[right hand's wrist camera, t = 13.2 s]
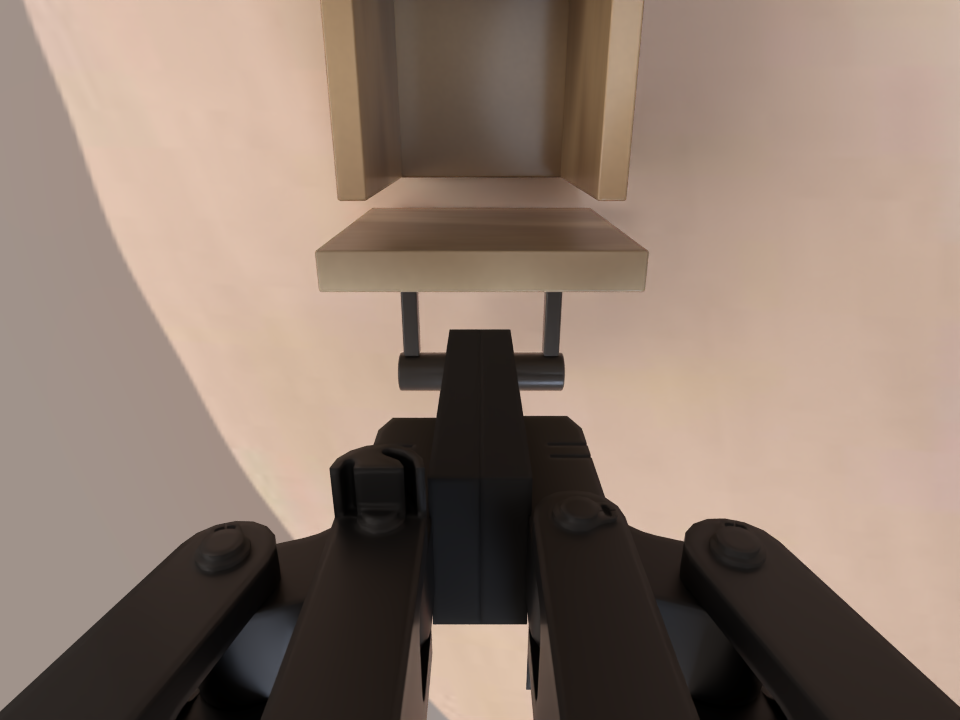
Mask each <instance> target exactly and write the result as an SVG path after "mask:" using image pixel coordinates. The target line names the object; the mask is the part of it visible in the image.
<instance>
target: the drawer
mask: <svg viewBox="0 0 960 720" xmlns="http://www.w3.org/2000/svg"><path fill="white" fill-rule="evenodd" d="M320 4H321V15H322V27H323V38H324V49H325V60H326V72H327V83H328V94H329V106H330V117H331V128H332V140H333V151H334V162H335V174H336V185H337V196H338V200H340V201H365V200H367V199H369V198H370V197H372V196H373V195H375V194H377V193H378V192H380V191H381V190H383V189H384V188H386V187H387V186H389V185H391V184H392V183H394V182H395V181H397V180H398V179H400V178H401V177H561V178H563V179H564V180H566V181H568V182H569V183H571V184H573V185H574V186H576V187H577V188H579V189H581V190H582V191H584V192H585V193H587V194H589V195H590V196H592V197H593V198H595V199H597V200H599V201H624V200H626V196H627V185H628V174H629V163H630V152H631V140H632V129H633V118H634V107H635V96H636V85H637V74H638V63H639V52H640V41H641V30H642V19H643V8H644V0H320ZM648 255H649V252H648V250H646V249H645V248H643V247H642V246H641V245H639V244H638V243H637V242H635V241H634V240H633V239H631V238H630V237H629V236H627V235H626V234H625V233H623V232H622V231H620V230H619V229H618V228H616V227H615V226H614V225H612V224H611V223H610V222H608V221H607V220H606V219H604V218H603V217H601V216H600V215H599V214H597V213H596V212H595V211H593V210H592V209H590V208H372V209H371V210H369V211H368V212H367V213H365V214H364V215H363V216H361V217H360V218H359V219H357V220H356V221H355V222H353V223H352V224H351V225H349V226H348V227H347V228H345V229H344V230H343V231H341V232H340V233H339V234H337V235H336V236H335V237H334V238H332V239H331V240H330V241H328V242H327V243H326V244H324V245H323V246H322V247H320V248H319V249H318V250H316V252H315V257H316V266H317V275H318V285H319V291H320V292H401V308H402V327H403V346H404V353H401V354H400V356H399V363H398V381H399V388H400V390H402V391H441V384H442V377H443V371H444V364H445V357H446V353H420V325H419V301H418V292H545V297H544V320H543V343H542V351H543V353H514V357H515V364H516V371H517V377H518V384H519V391H561V390H563V387H564V379H565V365H564V357H563V354H562V353H559V343H560V324H561V306H562V292H643V291H644V290H645V283H646V274H647V264H648Z"/></svg>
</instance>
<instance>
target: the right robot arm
mask: <svg viewBox="0 0 960 720" xmlns="http://www.w3.org/2000/svg"><path fill="white" fill-rule="evenodd" d="M330 477H331V486H332V495H333V504H334V513H335V519H334V521H333V524H332V527H331V528H330V529H328V530H326V531H323V532H321V533H319V534H316V535H313V536H309V537H306V538H302V539H297V540H293V541H288V542H283V543H279V544H276V539H275V535H274V534H273V533H272V531H271V530H270V529H269V528H268V527H267V526H264V525H261V524H259V523H256V522H250V521H234V522H229V523H224V524H219V525H215V526H213V527H210V528H208V529H206V530H203V531H201V532H198V533H196V534H195V535H194V536H192V537H191V538H189V539H188V540H186V541H185V542H184V543H182V544H181V545H180V546H179V547H178V548H177V549H175V550H174V551H173V552H172V553H171V554H170V555H169V556H168V557H167V558H166V559H165V560H164V561H163V562H162V563H160V564H159V565H158V566H157V567H156V568H155V569H154V570H153V571H152V572H151V573H150V574H148V575H147V576H146V577H145V578H144V579H143V580H142V581H141V582H140V583H139V584H138V585H137V586H135V587H134V588H133V589H132V590H131V591H130V592H129V593H128V594H127V595H126V596H125V597H124V598H123V599H121V600H120V601H119V602H118V603H117V604H116V605H115V606H114V607H113V608H112V609H111V610H110V611H108V612H107V613H106V614H105V615H104V616H103V617H102V618H101V619H100V620H99V621H98V622H97V623H95V624H94V625H93V626H92V627H91V628H90V629H89V630H88V631H87V632H86V633H85V634H84V635H83V636H81V637H80V638H79V639H78V640H77V641H76V642H75V643H74V644H73V645H72V646H71V647H70V648H68V649H67V650H66V651H65V652H64V653H63V654H62V655H61V656H60V657H59V658H58V659H57V660H55V661H54V662H53V663H52V664H51V665H50V666H49V667H48V668H47V669H46V670H45V671H44V672H43V673H41V674H40V675H39V676H38V677H37V678H36V679H35V680H34V681H33V682H32V683H31V684H30V685H28V686H27V687H26V688H25V689H24V690H23V691H22V692H21V693H20V694H19V695H18V696H17V697H15V698H14V699H13V700H12V701H11V702H10V703H9V704H8V705H7V706H6V707H5V708H4V709H3V710H1V711H0V720H426V719H427V708H428V696H429V685H430V673H431V662H432V634H431V625H432V615H433V624H527V612H528V622H529V634H528V659H527V683H526V690H531V695H532V707H533V718H534V720H960V707H959V706H958V705H957V704H956V703H955V702H954V701H953V700H951V699H950V698H949V697H948V696H947V695H946V694H945V693H944V692H943V691H942V690H941V689H940V688H938V687H937V686H936V685H935V684H934V683H933V682H932V681H931V680H930V679H929V678H928V677H926V676H925V675H924V674H923V673H922V672H921V671H920V670H919V669H918V668H917V667H916V666H914V665H913V664H912V663H911V662H910V661H909V660H908V659H907V658H906V657H905V656H904V655H902V654H901V653H900V652H899V651H898V650H897V649H896V648H895V647H894V646H893V645H892V644H890V643H889V642H888V641H887V640H886V639H885V638H884V637H883V636H882V635H881V634H880V633H879V632H877V631H876V630H875V629H874V628H873V627H872V626H871V625H870V624H869V623H868V622H867V621H865V620H864V619H863V618H862V617H861V616H860V615H859V614H858V613H857V612H856V611H855V610H853V609H852V608H851V607H850V606H849V605H848V604H847V603H846V602H845V601H844V600H843V599H841V598H840V597H839V596H838V595H837V594H836V593H835V592H834V591H833V590H832V589H831V588H829V587H828V586H827V585H826V584H825V583H824V582H823V581H822V580H821V579H820V578H819V577H817V576H816V575H815V574H814V573H813V572H812V571H811V570H810V569H809V568H808V567H807V566H806V565H804V564H803V563H802V562H801V561H800V560H799V559H798V558H797V557H796V556H795V555H794V554H792V553H791V552H790V551H789V550H788V549H787V548H786V547H785V546H784V545H783V544H782V543H780V542H779V541H778V540H776V539H775V538H774V537H772V536H771V535H769V534H768V533H767V532H765V531H764V530H761V529H759V528H757V527H754V526H752V525H749V524H747V523H745V522H740V521H735V520H730V519H706V520H703V521H700V522H697V523H694V524H693V525H692V526H691V527H690V528H689V529H688V530H687V531H686V533H685V539H684V541H679V540H674V539H670V538H665V537H660V536H656V535H652V534H649V533H645V532H642V531H640V530H638V529H635V528H633V527H631V526H629V525H628V523H627V521H626V518H625V516H624V515H623V513H622V512H621V510H620V509H619V507H618V506H617V505H615V504H614V503H612V502H611V501H609V500H608V499H607V498H605V496H604V493H603V490H602V487H601V484H600V481H599V478H598V475H597V472H596V469H595V466H594V463H593V460H592V458H591V455H590V452H589V449H588V446H587V443H586V440H585V437H584V434H583V431H582V428H581V427H579V426H578V425H577V424H576V423H575V422H574V421H572V420H571V419H570V418H569V417H568V416H523V411H522V404H521V397H520V391H519V384H518V377H517V371H516V364H515V357H514V351H513V344H512V338H511V331H510V330H450V331H449V338H448V344H447V351H446V357H445V364H444V371H443V377H442V384H441V391H440V397H439V404H438V411H437V417H436V418H392V419H391V420H390V421H389V422H388V423H386V424H385V425H384V426H383V427H382V428H381V429H379V430H378V433H377V436H376V439H375V442H374V445H370V446H364V447H361V448H358V449H355V450H351V451H349V452H347V453H346V454H344V455H342V456H341V457H339V458H337V459H336V461H335V462H334V463H333V464H332V466H331V467H330Z"/></svg>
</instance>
